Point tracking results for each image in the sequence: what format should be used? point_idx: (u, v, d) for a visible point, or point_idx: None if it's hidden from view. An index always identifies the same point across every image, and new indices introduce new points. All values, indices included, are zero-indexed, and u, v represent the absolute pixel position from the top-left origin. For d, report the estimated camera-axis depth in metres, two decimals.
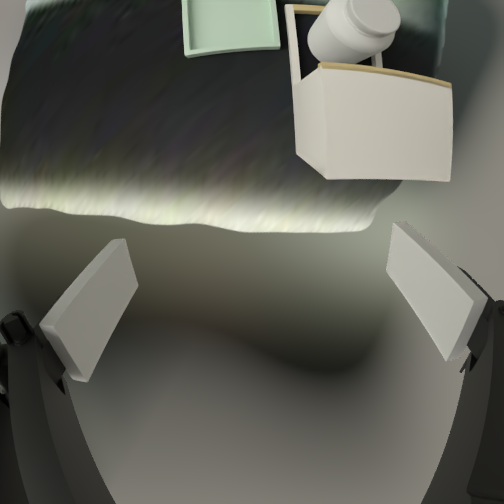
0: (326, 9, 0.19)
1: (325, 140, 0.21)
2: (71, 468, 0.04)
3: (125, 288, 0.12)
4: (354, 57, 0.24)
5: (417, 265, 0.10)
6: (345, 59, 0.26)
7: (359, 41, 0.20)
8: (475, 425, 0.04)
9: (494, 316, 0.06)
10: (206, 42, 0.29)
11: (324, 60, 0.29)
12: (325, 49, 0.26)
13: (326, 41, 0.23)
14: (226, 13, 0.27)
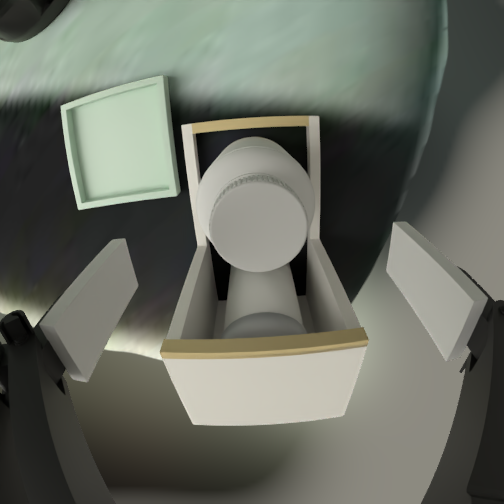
0: (196, 197, 0.18)
1: None
2: (70, 467, 0.04)
3: (125, 288, 0.12)
4: None
5: (417, 265, 0.10)
6: None
7: None
8: (475, 425, 0.04)
9: (494, 316, 0.06)
10: (98, 187, 0.28)
11: None
12: None
13: None
14: (114, 144, 0.26)
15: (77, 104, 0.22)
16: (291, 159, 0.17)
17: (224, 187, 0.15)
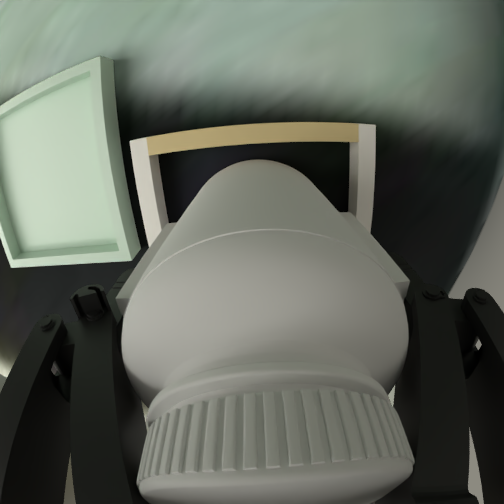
0: None
1: None
2: (131, 459, 0.04)
3: None
4: None
5: None
6: None
7: None
8: (411, 420, 0.04)
9: (417, 302, 0.07)
10: (31, 237, 0.17)
11: None
12: None
13: None
14: (41, 175, 0.15)
15: None
16: (376, 269, 0.05)
17: (169, 396, 0.04)
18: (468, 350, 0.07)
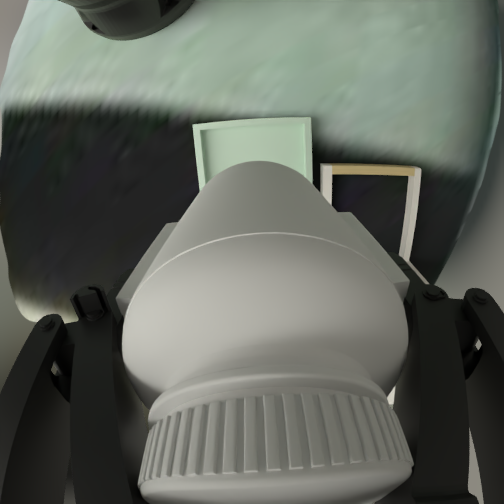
0: None
1: None
2: (131, 459, 0.04)
3: None
4: None
5: None
6: None
7: None
8: (411, 420, 0.04)
9: (417, 302, 0.07)
10: None
11: None
12: None
13: None
14: None
15: (215, 127, 0.27)
16: (376, 273, 0.05)
17: (170, 399, 0.04)
18: (468, 351, 0.07)
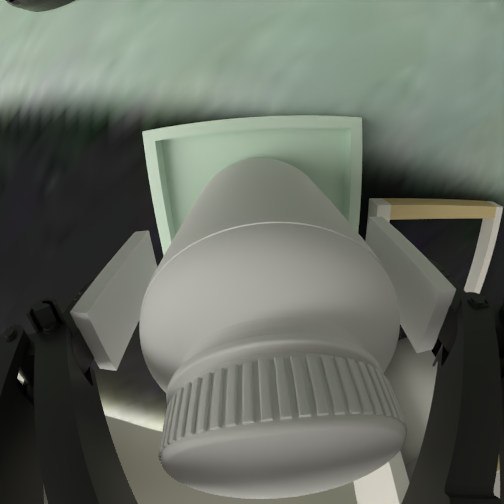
0: None
1: None
2: (95, 463, 0.04)
3: (149, 279, 0.13)
4: None
5: (390, 258, 0.11)
6: None
7: None
8: (450, 421, 0.04)
9: (463, 309, 0.06)
10: None
11: None
12: None
13: None
14: None
15: (183, 134, 0.14)
16: (368, 257, 0.06)
17: (190, 368, 0.05)
18: (501, 356, 0.06)
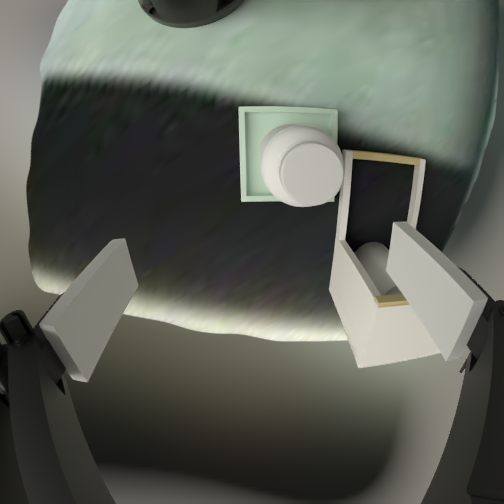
0: (262, 156, 0.25)
1: (364, 348, 0.29)
2: (70, 467, 0.04)
3: (125, 288, 0.12)
4: None
5: (417, 265, 0.10)
6: None
7: (293, 201, 0.25)
8: (475, 424, 0.04)
9: (494, 316, 0.06)
10: (262, 185, 0.37)
11: None
12: None
13: None
14: None
15: (258, 110, 0.31)
16: (329, 136, 0.24)
17: (289, 147, 0.22)
18: None
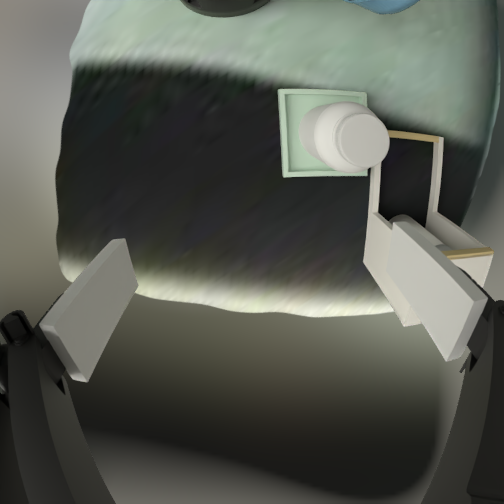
0: (315, 127, 0.26)
1: (409, 305, 0.30)
2: (70, 467, 0.04)
3: (125, 288, 0.12)
4: None
5: (417, 265, 0.10)
6: None
7: (344, 167, 0.27)
8: (475, 425, 0.04)
9: (494, 316, 0.06)
10: (302, 162, 0.38)
11: None
12: (313, 155, 0.32)
13: (314, 153, 0.30)
14: None
15: (297, 92, 0.33)
16: (371, 111, 0.25)
17: (341, 118, 0.23)
18: None
